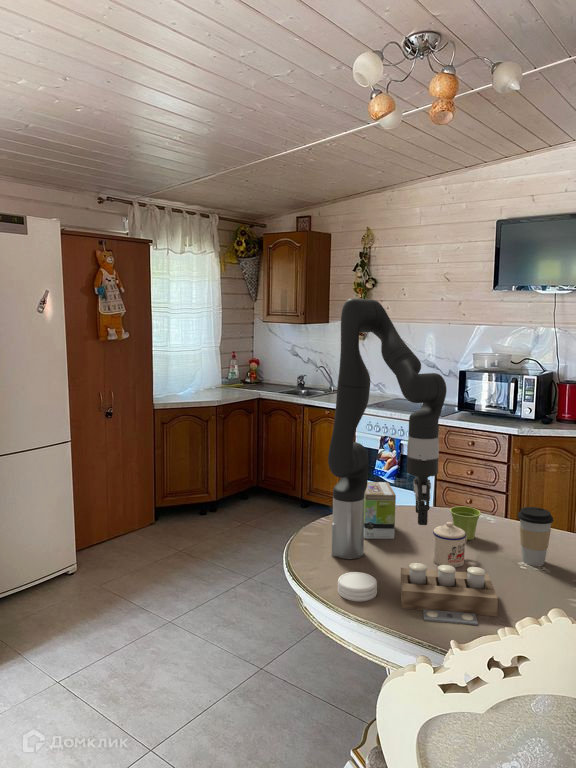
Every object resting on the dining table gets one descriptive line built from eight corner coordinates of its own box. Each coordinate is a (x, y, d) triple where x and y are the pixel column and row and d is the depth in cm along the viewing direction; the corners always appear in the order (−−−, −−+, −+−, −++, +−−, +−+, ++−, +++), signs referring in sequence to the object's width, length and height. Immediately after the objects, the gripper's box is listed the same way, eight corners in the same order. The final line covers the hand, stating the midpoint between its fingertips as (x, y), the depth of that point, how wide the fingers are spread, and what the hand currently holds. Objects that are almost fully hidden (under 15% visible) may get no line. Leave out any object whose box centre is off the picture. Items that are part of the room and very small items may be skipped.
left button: (409, 584, 140) (409, 569, 139) (408, 577, 144) (409, 562, 143) (426, 586, 139) (427, 570, 138) (425, 578, 143) (426, 563, 143)
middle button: (438, 587, 138) (438, 571, 138) (436, 579, 143) (437, 564, 142) (456, 588, 138) (456, 572, 137) (454, 580, 142) (454, 565, 141)
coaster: (376, 604, 139) (376, 590, 138) (335, 600, 140) (336, 587, 140) (377, 585, 148) (377, 572, 148) (339, 582, 150) (339, 569, 150)
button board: (401, 608, 136) (401, 590, 136) (400, 583, 149) (400, 567, 148) (497, 616, 132) (497, 598, 132) (487, 590, 145) (488, 573, 145)
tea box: (395, 539, 179) (396, 494, 178) (363, 539, 179) (364, 494, 178) (387, 522, 194) (388, 480, 192) (358, 522, 194) (359, 480, 193)
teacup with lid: (451, 571, 156) (452, 530, 155) (425, 560, 164) (426, 521, 162) (477, 560, 163) (479, 521, 162) (452, 550, 170) (453, 513, 169)
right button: (468, 589, 137) (468, 573, 137) (465, 581, 141) (466, 566, 141) (486, 590, 136) (486, 575, 136) (483, 582, 141) (483, 567, 140)
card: (424, 620, 131) (424, 617, 131) (422, 610, 135) (422, 608, 135) (478, 625, 129) (478, 622, 128) (475, 615, 133) (475, 612, 133)
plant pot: (483, 535, 182) (484, 509, 181) (475, 545, 174) (476, 518, 174) (454, 529, 187) (454, 504, 186) (445, 539, 179) (446, 512, 178)
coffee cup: (551, 558, 165) (553, 508, 163) (551, 571, 156) (553, 519, 154) (516, 552, 169) (518, 504, 167) (514, 565, 160) (516, 514, 158)
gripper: (405, 447, 146) (404, 508, 147) (408, 461, 132) (407, 528, 133) (435, 448, 144) (434, 510, 146) (441, 462, 131) (439, 529, 132)
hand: (421, 518), depth 140 cm, fingers open, 8 cm apart
